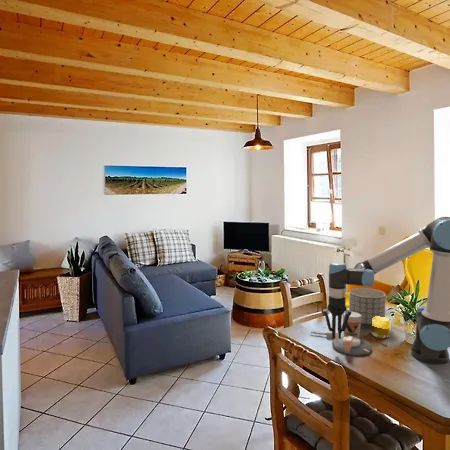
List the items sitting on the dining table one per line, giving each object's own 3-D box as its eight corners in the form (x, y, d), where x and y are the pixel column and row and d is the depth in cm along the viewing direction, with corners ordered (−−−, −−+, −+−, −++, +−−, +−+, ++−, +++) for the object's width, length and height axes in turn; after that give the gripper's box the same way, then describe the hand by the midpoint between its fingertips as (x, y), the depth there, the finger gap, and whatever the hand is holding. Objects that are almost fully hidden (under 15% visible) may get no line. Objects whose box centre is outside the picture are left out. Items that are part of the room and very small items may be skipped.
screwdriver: (338, 337, 185) (338, 332, 185) (338, 339, 183) (338, 334, 182) (311, 333, 190) (311, 328, 190) (310, 335, 188) (310, 330, 187)
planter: (346, 317, 214) (346, 287, 212) (379, 318, 211) (379, 288, 210) (352, 329, 195) (353, 297, 193) (389, 330, 193) (390, 298, 191)
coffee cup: (341, 338, 183) (341, 316, 182) (342, 332, 192) (343, 310, 190) (360, 341, 179) (361, 318, 178) (361, 334, 188) (361, 312, 187)
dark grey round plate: (373, 343, 176) (373, 340, 176) (368, 359, 161) (368, 355, 161) (336, 336, 185) (336, 333, 185) (328, 350, 170) (328, 346, 170)
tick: (363, 350, 166) (363, 349, 166) (364, 349, 167) (364, 349, 167) (368, 352, 164) (368, 351, 164) (369, 351, 165) (369, 351, 164)
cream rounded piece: (344, 338, 178) (345, 329, 178) (361, 341, 174) (361, 332, 174) (337, 350, 165) (338, 340, 165) (356, 354, 161) (356, 343, 161)
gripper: (349, 293, 167) (348, 342, 169) (321, 293, 168) (320, 341, 171) (353, 298, 160) (352, 349, 162) (324, 298, 161) (323, 348, 163)
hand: (336, 345), depth 166 cm, fingers closed
